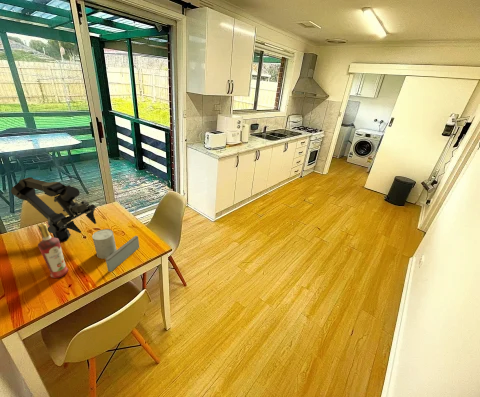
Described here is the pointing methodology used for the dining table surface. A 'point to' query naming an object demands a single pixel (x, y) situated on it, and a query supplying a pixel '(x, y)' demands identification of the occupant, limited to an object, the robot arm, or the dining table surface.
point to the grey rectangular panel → (122, 253)
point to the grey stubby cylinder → (104, 243)
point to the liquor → (52, 253)
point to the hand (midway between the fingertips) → (88, 228)
